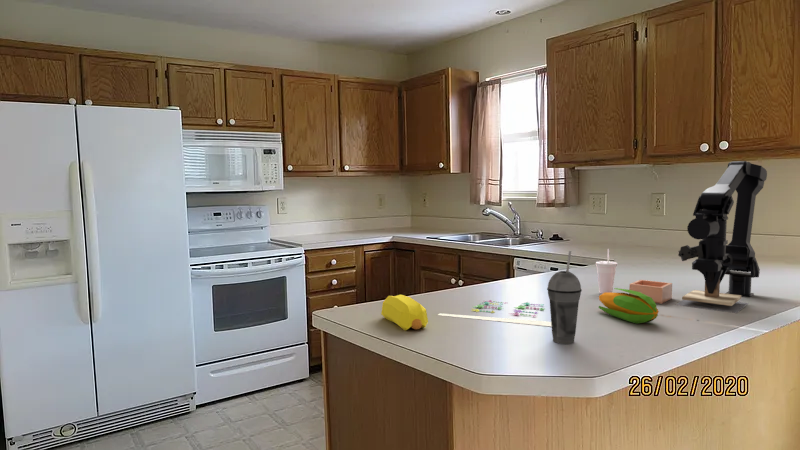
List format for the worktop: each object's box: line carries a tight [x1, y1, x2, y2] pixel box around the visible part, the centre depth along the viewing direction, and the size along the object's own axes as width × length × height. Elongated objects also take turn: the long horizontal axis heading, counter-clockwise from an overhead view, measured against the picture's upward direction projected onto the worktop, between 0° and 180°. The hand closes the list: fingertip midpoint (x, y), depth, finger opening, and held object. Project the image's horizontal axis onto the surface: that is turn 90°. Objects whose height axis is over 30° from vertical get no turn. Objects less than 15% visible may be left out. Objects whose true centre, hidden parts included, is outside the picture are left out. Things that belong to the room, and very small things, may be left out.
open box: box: [628, 279, 673, 305], centre depth 157 cm, size 9×9×5 cm
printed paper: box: [437, 299, 552, 328], centre depth 150 cm, size 30×30×2 cm
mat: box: [674, 299, 749, 314], centre depth 150 cm, size 15×15×1 cm
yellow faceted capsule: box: [380, 294, 429, 331], centre depth 135 cm, size 18×7×8 cm
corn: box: [598, 287, 660, 325], centre depth 138 cm, size 7×8×20 cm
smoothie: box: [595, 248, 618, 295], centre depth 168 cm, size 6×6×14 cm
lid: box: [681, 279, 743, 306], centre depth 150 cm, size 12×12×6 cm
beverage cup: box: [546, 250, 583, 345], centre depth 118 cm, size 7×7×20 cm
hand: (712, 292), depth 150 cm, fingers closed on lid, 3 cm apart
